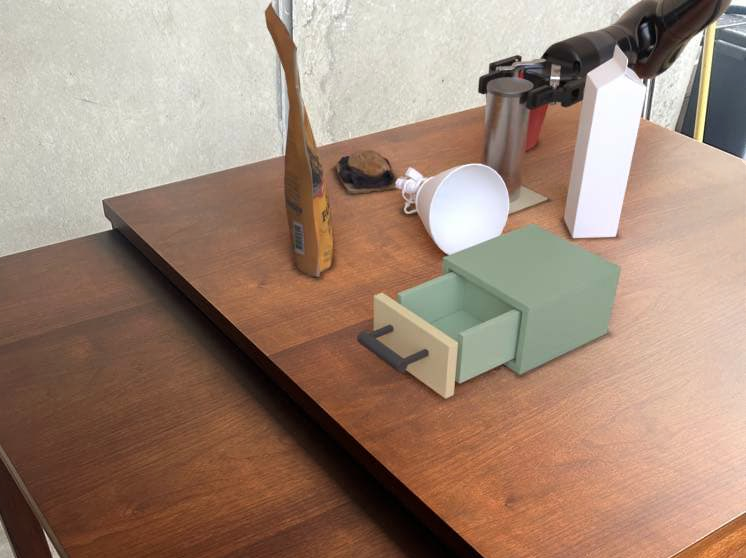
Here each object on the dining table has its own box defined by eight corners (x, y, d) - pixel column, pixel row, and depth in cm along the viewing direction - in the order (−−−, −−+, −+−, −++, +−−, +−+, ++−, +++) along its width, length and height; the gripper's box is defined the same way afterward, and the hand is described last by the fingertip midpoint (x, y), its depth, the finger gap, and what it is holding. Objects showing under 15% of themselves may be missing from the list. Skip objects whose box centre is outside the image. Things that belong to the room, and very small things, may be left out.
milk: (572, 239, 117) (601, 60, 101) (563, 219, 121) (590, 44, 106) (617, 237, 117) (653, 58, 101) (606, 217, 121) (640, 42, 106)
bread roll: (332, 167, 136) (331, 143, 134) (384, 162, 137) (384, 137, 134) (345, 195, 129) (344, 170, 126) (400, 189, 130) (400, 164, 127)
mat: (500, 177, 132) (500, 175, 131) (547, 199, 126) (547, 197, 125) (450, 195, 128) (450, 193, 127) (496, 219, 122) (496, 216, 122)
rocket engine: (401, 129, 120) (463, 144, 106) (459, 175, 127) (525, 195, 112) (358, 205, 123) (412, 229, 109) (416, 246, 130) (475, 274, 115)
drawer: (413, 414, 89) (415, 361, 84) (342, 359, 96) (341, 308, 92) (532, 357, 96) (540, 306, 91) (458, 310, 103) (462, 260, 98)
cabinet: (519, 375, 95) (529, 307, 89) (438, 322, 103) (442, 257, 97) (607, 333, 100) (621, 267, 94) (523, 286, 108) (532, 222, 102)
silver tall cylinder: (520, 187, 128) (533, 77, 118) (520, 205, 124) (533, 93, 113) (478, 185, 129) (487, 76, 118) (476, 203, 125) (486, 92, 114)
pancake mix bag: (284, 286, 110) (264, 41, 90) (281, 219, 123) (263, -7, 104) (337, 283, 110) (328, 38, 90) (328, 216, 124) (319, -9, 104)
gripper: (544, 25, 124) (466, 51, 117) (627, 46, 117) (550, 75, 109) (537, 81, 130) (462, 109, 122) (615, 105, 122) (541, 136, 115)
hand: (504, 93), depth 116 cm, fingers open, 8 cm apart
